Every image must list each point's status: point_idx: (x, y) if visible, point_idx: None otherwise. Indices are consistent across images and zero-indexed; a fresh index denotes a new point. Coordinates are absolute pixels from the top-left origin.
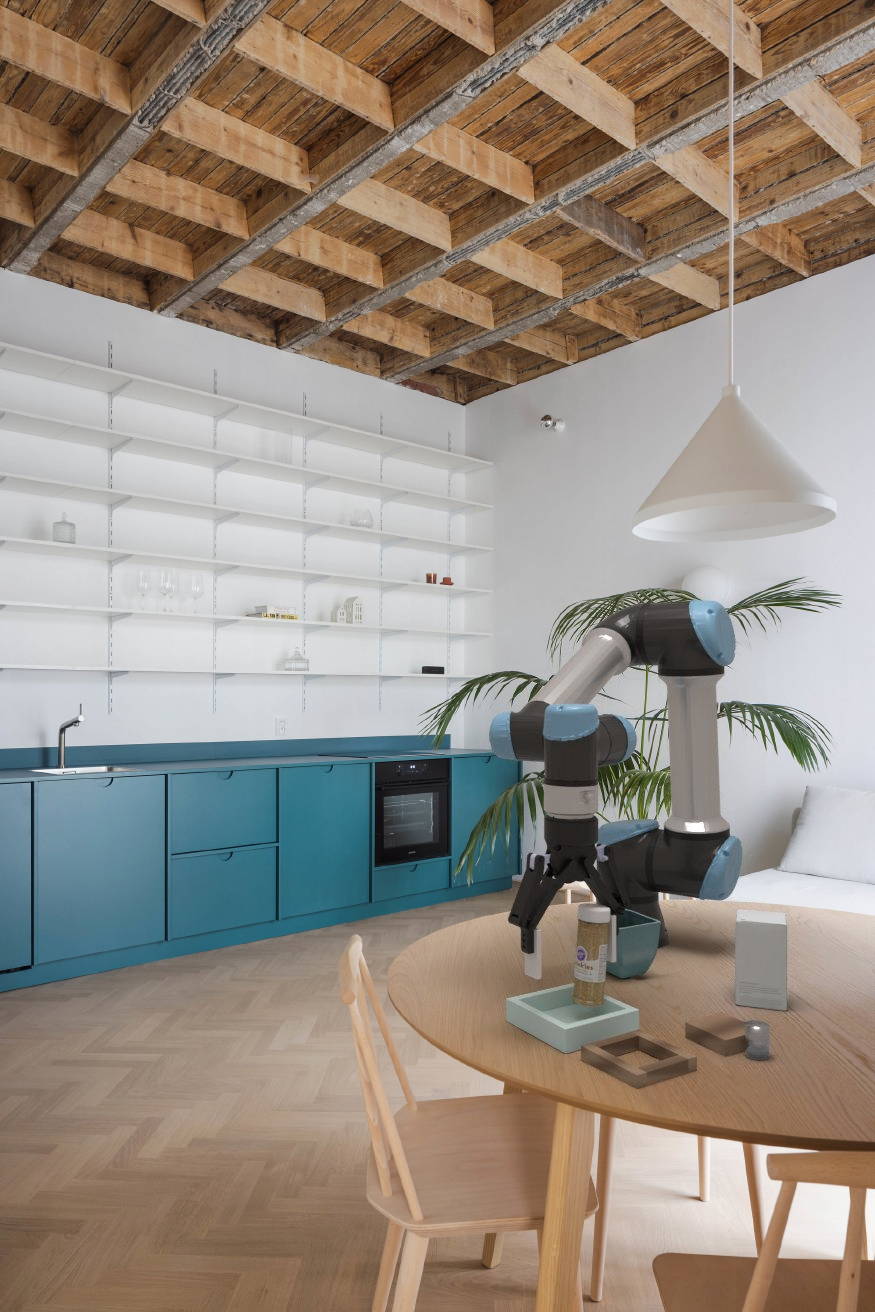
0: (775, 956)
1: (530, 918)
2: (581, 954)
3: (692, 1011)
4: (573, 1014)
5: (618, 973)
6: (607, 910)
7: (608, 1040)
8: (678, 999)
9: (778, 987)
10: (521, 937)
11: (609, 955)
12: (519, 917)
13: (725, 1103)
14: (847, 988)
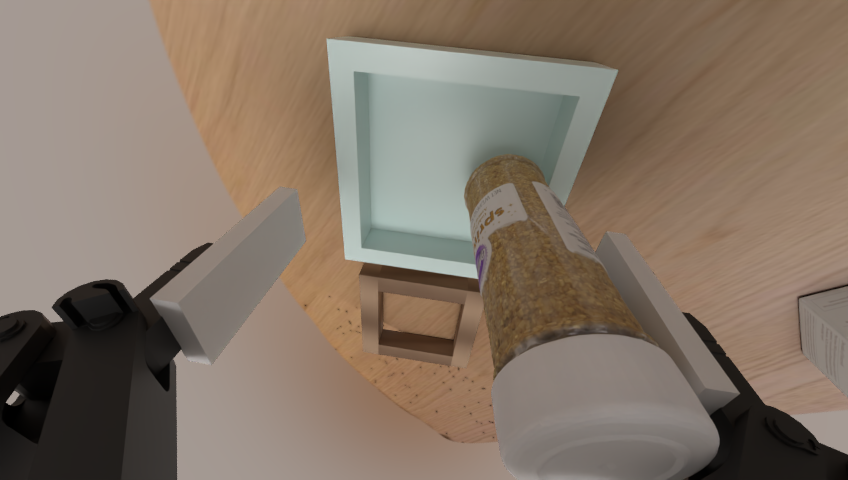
0: None
1: (141, 355)
2: (478, 272)
3: (708, 263)
4: (491, 141)
5: None
6: None
7: (410, 288)
8: (786, 211)
9: (841, 384)
10: (158, 282)
11: None
12: (18, 410)
13: (425, 385)
14: None
